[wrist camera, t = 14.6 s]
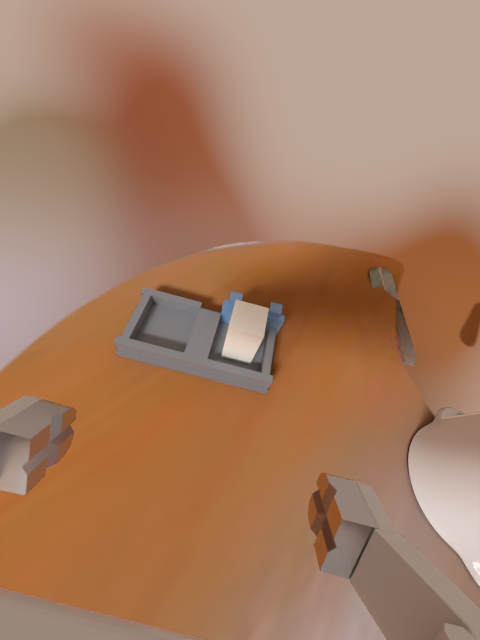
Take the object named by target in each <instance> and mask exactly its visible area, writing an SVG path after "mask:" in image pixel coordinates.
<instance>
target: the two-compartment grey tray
mask: <svg viewBox="0 0 480 640" xmlns="http://www.w3.org/2000/svg"><path fill="white" fill-rule="evenodd" d="M141 296H142V298H141V300H140V302H139V304H138V306H137V307H136V309H135V311H134V313H133V315H132V317H131V319H130V321H129V322H128V324H127V326H126V328H125V330H124V332H123V334H122V335H121V336H118V335H117V336H116V338H115V340H114V342H113V343H114V344H115V346H116V348H117V351H116V354H117V356H120V357H124V358H128V359H132V360H136V361H140V362H143V363H147V364H151V365H155V366H159V367H163V368H167V369H171V370H174V371H178V372H182V373H186V374H190V375H194V376H198V377H202V378H206V379H209V380H213V381H217V382H221V383H225V384H229V385H233V386H237V387H240V388H244V389H248V390H252V391H256V392H260V393H264V394H266V393H267V392H268V388H269V387H270V385H271V384H272V382H273V376H272V375H270V372H271V366H272V359H273V352H274V345H275V338H276V335H277V333H278V331H279V330H280V328H281V326H282V325H283V323H284V320H285V316H284V315H281V313H282V306H283V305H282V304H278V303H274V302H271V303H270V307H269V311H268V317H267V322H266V328H265V333H264V338H263V340H262V342H261V344H260V346H259V348H258V350H257V352H256V354H255V355H254V357H253V359H252V361H251V363H250V365H249V364H245V363H241V362H237V361H233V360H229V359H226V358H222V357H221V355H222V351H223V347H224V343H225V339H226V335H227V331H228V327H229V323H230V319H231V316H232V312H233V308H234V305H235V301H236V300H240V301H242V298H243V294H241V293H237V292H233V291H232V293H231V296H230V300H229V301H228V300H224V302H223V306H222V312H218V311H214V310H210V309H206V308H202V302H199V301H195V300H191V299H187V298H184V297H180V296H176V295H172V294H169V293H165V292H161V291H157V290H153V289H150V288H146V287H143V289H142V291H141Z"/></svg>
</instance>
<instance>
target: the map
mask: <svg viewBox="0 0 480 640" xmlns="http://www.w3.org/2000/svg"><path fill="white" fill-rule="evenodd" d="M369 273H370V280H371V285H372V288H375V287H381V288H382V289H384V290H386V293H387V292H388V293H390V295H392V296H393V297H395V298H397V301H396V343H397V348H398V352H399V355H400V357H401V360H402V362H403V364H404V365H405V366H409V365H410V366H413V367H415V362H416V363H417V359H416V355H415V351H414V347H413V343H412V340H411V337H410V333H409V330H408V327H407V324H406V320H405V317H404V314H403V311H402V308H401V304H400V301H399V298H398V294H397V291H396V287H395V284H394V280H393V276H392V273H390V272H387V270H384V269H383V268H381V266H379V267H377V268H371V269H370V271H369ZM384 292H385V291H384ZM391 339H392V338H391ZM391 339H390V340H391ZM390 340H389V341H390Z"/></svg>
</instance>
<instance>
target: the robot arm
mask: <svg viewBox="0 0 480 640" xmlns="http://www.w3.org/2000/svg"><path fill="white" fill-rule="evenodd" d="M75 419H76V410H75V409H74V408H73V407H69V406H66V405H62V404H59V403H55V402H52V401H48V400H45V399H44V400H43V399H40V398H37V397H33V396H23V397H21V398H19V399H17V400H16V401H14V402H12V403H10V404H8V405H7V406H5V407H3V408H1V409H0V490H3V491H7V492H12V493H16V494H21V495H26V494H27V493H28V492H29V491H30V490H31V489H32V488H33V487H34V486H35V485H36V484H37V483H38V482H39V481H40V480H41V479H42V478H43V477H44V476H45V472H46V468H48V467H50V466H52V465H55V464H57V463H58V462H59V461H60V460H61V459H62V458H63V457H64V455H65V454H66V452H67V450H68V449H69V447H70V445H71V442H72V440H73V434H74V431H73V429H72V427H71V426H70V424H71V423H72V422H73V421H75ZM408 467H409V474H410V479H411V483H412V487H413V490H414V493H415V495H416V498H417V500H418V503H419V505H420V507H421V509H422V510H423V512H424V514H425V516H426V517H427V519H428V520H429V522H430V523H431V525H432V526H433V527H434V529H435V530H436V531H437V532H438V534H439V535H440V536H441V537H442V538H443V539H444V540H445V541H446V542H447V543H448V544H449V545H450V546H451V547H452V548H453V549H454V550H455V551H456V552H457V553H458V554H459V556H460V557H461V558H462V560H463V561H464V563H465V565H466V567H467V568H468V570H469V572H470V573H471V575H472V576H473V578H474V579H475V581H476V582H477V584H478V585H479V586H480V412H477V413H470V414H464V413H462V412H460V411H458V410H455V409H453V408H450V407H449V408H448V407H447V408H441V409H440V410H439V411H438V413H437V414H436V416H435V419H434V421H433V422H432V423H430V424H428V425H427V426H425V427H423V428H422V429H420V430H419V431H418V432H417V433H416V435H415V436H414V438H413V440H412V442H411V445H410V449H409V456H408ZM317 485H318V490H317V491H315V492H314V493H312V496H311V498H310V501H309V509H308V517H309V524H310V529H311V530H312V531H313V533H314V534H315V535H316V537H317V538H316V541H315V543H314V546H315V551H316V555H317V560H318V564H319V568H320V571H323V572H326V573H330V574H333V575H337V576H340V577H343V578H347V579H350V583H351V584H352V586H353V587H354V589H355V590H356V592H357V594H358V595H359V597H360V598H361V600H362V601H363V603H364V604H365V606H366V608H367V609H368V611H369V612H370V614H371V615H372V617H373V619H374V620H375V622H376V623H377V625H378V626H379V628H380V630H381V631H382V633H383V634H384V636H385V637H386V639H387V640H480V609H479V608H478V607H477V606H476V605H475V604H474V603H473V602H472V601H471V600H470V599H469V598H468V597H467V596H466V595H465V594H464V593H463V592H462V591H461V590H459V589H458V588H457V587H456V586H455V585H454V584H453V583H452V582H451V581H450V580H449V579H448V578H447V577H446V576H445V575H444V574H443V573H442V572H441V571H440V570H439V569H437V568H436V567H435V566H434V565H433V564H432V563H431V562H430V561H429V560H428V559H427V558H426V557H425V556H424V555H423V554H422V553H421V552H420V551H419V550H418V549H417V548H415V547H414V546H413V545H412V544H411V543H410V542H409V541H408V540H407V539H406V538H405V537H404V536H401V535H398V533H397V532H396V530H395V528H394V526H393V524H392V522H391V521H390V519H389V517H388V515H387V513H386V511H385V510H384V508H383V506H382V504H381V502H380V500H379V499H378V497H377V495H376V493H375V491H374V490H373V488H372V486H371V485H370V484H368V483H365V482H361V481H356V480H350V479H346V478H342V477H338V476H334V475H330V474H327V473H323V472H322V473H321V474H320V476H319V478H318V480H317ZM0 640H207V639H203V638H199V637H195V636H191V635H187V634H183V633H179V632H175V631H171V630H167V629H163V628H159V627H155V626H151V625H147V624H143V623H139V622H135V621H131V620H127V619H123V618H119V617H115V616H111V615H107V614H103V613H99V612H95V611H91V610H87V609H83V608H79V607H75V606H71V605H67V604H63V603H59V602H55V601H51V600H47V599H43V598H39V597H35V596H31V595H27V594H23V593H19V592H15V591H11V590H7V589H3V588H0Z"/></svg>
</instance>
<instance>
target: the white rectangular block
mask: <svg viewBox="0 0 480 640" xmlns="http://www.w3.org/2000/svg"><path fill="white" fill-rule="evenodd" d="M268 311H269V308H266V307H262V306H259V305H255V304H251V303H247V302H244V301H240V300H236V301H235V305H234V308H233V312H232V316H231V319H230V323H229V327H228V331H227V335H226V339H225V343H224V347H223V351H222V355H221V357H222V358H226V359H229V360H233V361H237V362H241V363H245V364H249V365H250V363H251V361H252V359H253V357H254V355H255V354H256V352H257V350H258V348H259V346H260V344H261V342H262V340H263V338H264V333H265V328H266V322H267V317H268Z"/></svg>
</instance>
